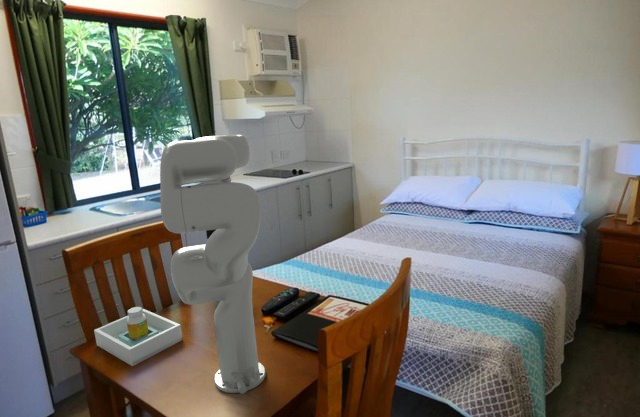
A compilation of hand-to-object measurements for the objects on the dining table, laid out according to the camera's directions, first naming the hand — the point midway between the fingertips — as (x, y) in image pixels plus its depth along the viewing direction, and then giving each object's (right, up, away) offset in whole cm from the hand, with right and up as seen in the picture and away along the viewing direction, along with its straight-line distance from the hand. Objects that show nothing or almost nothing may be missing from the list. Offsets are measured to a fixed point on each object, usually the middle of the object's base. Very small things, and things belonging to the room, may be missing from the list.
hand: (223, 240), depth 125 cm
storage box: (-26, -31, +6) cm, 41 cm away
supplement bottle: (-26, -30, +5) cm, 40 cm away
